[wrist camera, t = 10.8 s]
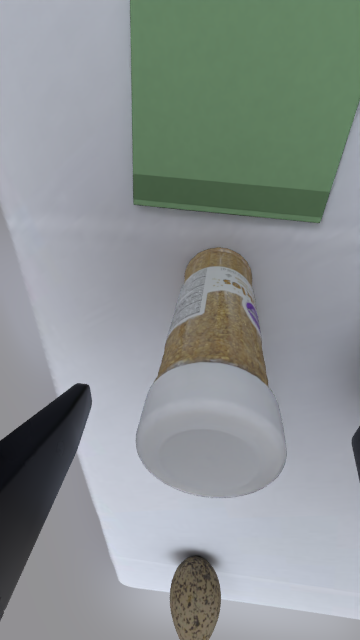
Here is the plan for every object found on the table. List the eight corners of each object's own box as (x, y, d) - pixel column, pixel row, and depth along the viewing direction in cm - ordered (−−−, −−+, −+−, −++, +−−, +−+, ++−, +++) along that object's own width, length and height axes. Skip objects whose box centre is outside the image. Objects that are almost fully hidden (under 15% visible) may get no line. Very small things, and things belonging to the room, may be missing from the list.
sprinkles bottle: (265, 280, 20) (323, 476, 8) (213, 318, 22) (203, 517, 10) (220, 229, 18) (215, 381, 7) (169, 275, 20) (101, 450, 9)
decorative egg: (202, 544, 42) (197, 645, 34) (230, 563, 45) (232, 662, 37) (165, 551, 45) (152, 646, 37) (193, 569, 48) (187, 662, 40)
